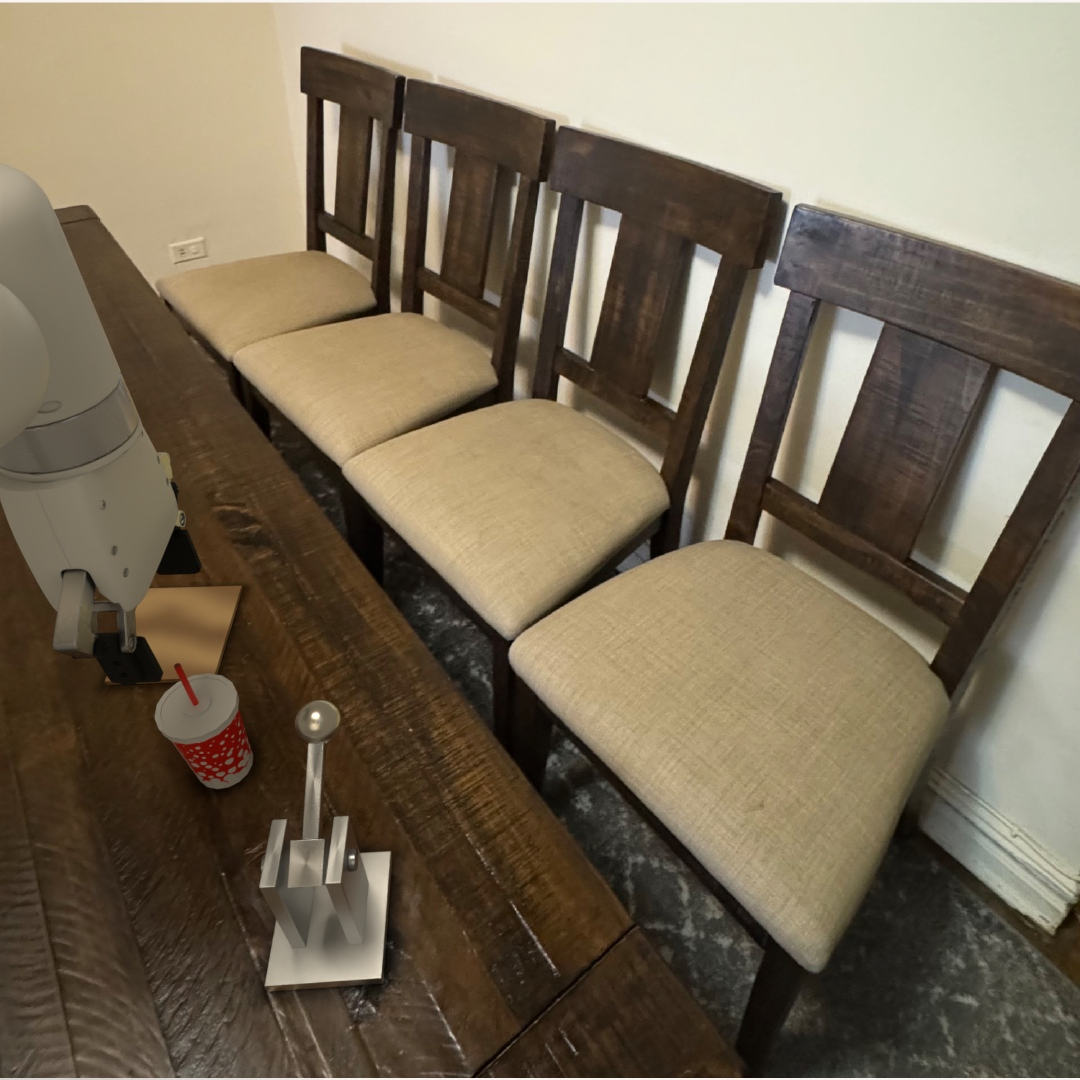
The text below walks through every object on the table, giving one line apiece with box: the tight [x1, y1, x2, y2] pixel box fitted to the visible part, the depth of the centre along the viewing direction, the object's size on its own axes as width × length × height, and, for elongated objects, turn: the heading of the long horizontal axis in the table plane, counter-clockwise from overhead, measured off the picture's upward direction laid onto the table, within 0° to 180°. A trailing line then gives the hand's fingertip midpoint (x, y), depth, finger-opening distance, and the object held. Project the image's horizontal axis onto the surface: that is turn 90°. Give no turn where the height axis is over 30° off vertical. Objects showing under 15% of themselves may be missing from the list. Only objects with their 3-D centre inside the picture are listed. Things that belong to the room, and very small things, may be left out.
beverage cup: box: [154, 663, 254, 790], centre depth 60 cm, size 6×6×14 cm
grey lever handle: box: [287, 699, 343, 888], centre depth 50 cm, size 12×3×3 cm, turn 4°
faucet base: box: [258, 815, 393, 992], centre depth 51 cm, size 9×8×12 cm
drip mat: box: [104, 585, 244, 686], centre depth 75 cm, size 12×10×1 cm
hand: (160, 621), depth 52 cm, fingers open, 9 cm apart
